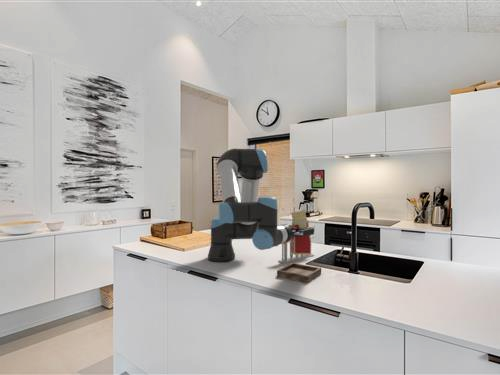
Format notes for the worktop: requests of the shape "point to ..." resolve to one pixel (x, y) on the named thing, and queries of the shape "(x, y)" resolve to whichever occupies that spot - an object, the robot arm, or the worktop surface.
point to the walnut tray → (299, 272)
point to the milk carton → (298, 243)
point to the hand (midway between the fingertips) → (303, 227)
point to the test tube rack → (285, 259)
